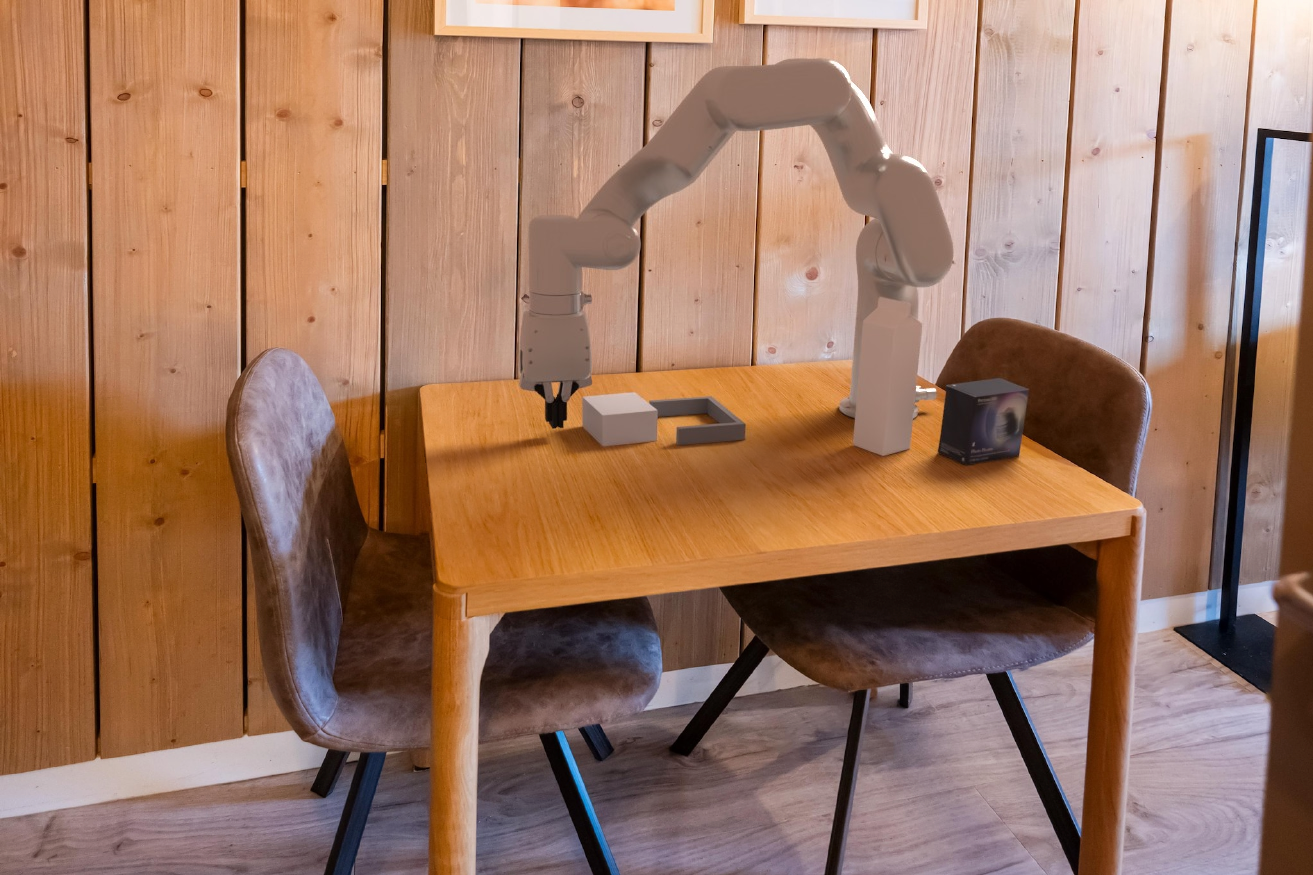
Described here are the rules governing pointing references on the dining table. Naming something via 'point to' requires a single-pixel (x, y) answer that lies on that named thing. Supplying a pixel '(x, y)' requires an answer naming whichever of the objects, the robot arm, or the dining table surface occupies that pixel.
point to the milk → (887, 378)
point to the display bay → (724, 431)
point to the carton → (619, 418)
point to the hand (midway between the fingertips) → (556, 425)
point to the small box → (983, 421)
